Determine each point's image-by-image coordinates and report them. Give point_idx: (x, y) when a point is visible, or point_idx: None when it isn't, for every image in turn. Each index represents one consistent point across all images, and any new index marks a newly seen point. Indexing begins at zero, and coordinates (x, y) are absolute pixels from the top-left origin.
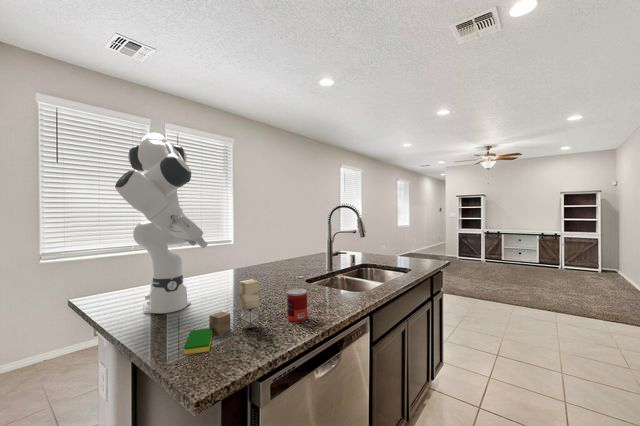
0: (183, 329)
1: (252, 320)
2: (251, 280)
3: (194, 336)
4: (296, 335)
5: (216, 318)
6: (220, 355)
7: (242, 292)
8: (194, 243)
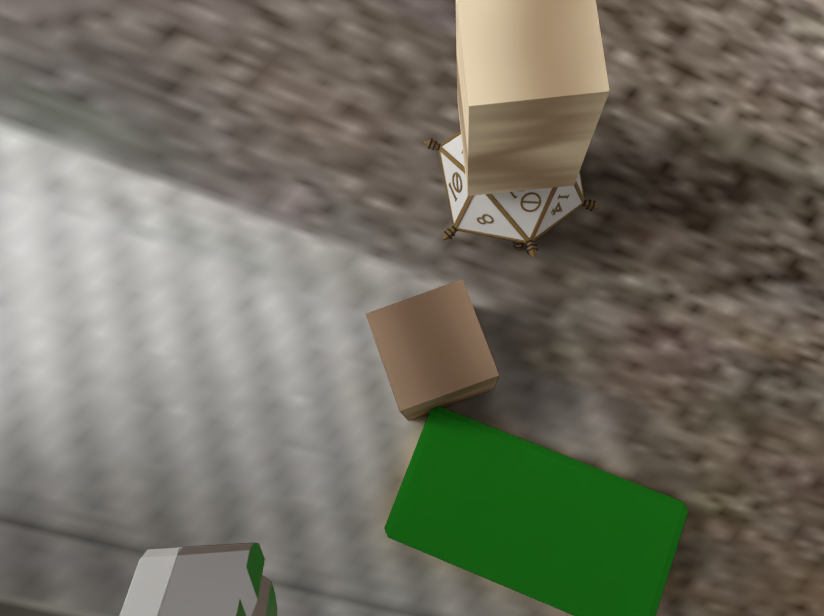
0: None
1: (579, 181)
2: (504, 4)
3: (511, 544)
4: (772, 37)
5: (477, 383)
6: (772, 469)
7: (520, 142)
8: (258, 596)
